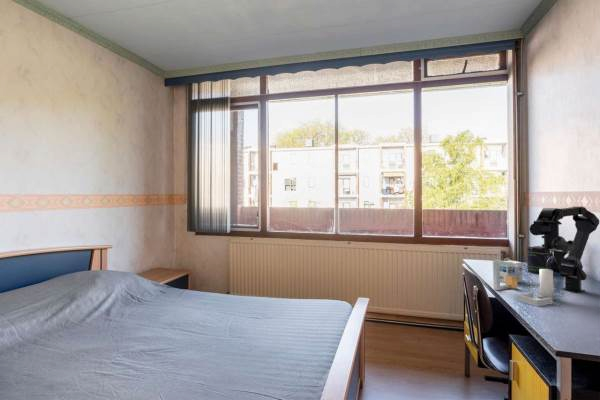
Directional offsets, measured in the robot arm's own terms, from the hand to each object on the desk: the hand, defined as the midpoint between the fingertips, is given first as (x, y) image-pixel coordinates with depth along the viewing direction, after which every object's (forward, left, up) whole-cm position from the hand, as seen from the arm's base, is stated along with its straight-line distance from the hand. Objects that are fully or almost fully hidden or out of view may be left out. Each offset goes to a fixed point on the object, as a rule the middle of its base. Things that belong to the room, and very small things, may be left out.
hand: (552, 266), depth 153 cm
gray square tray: (+19, +5, -13) cm, 24 cm away
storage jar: (-34, -33, -13) cm, 49 cm away
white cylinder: (+9, +4, -13) cm, 16 cm away
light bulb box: (-2, -24, -13) cm, 28 cm away
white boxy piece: (+14, -9, -13) cm, 21 cm away
